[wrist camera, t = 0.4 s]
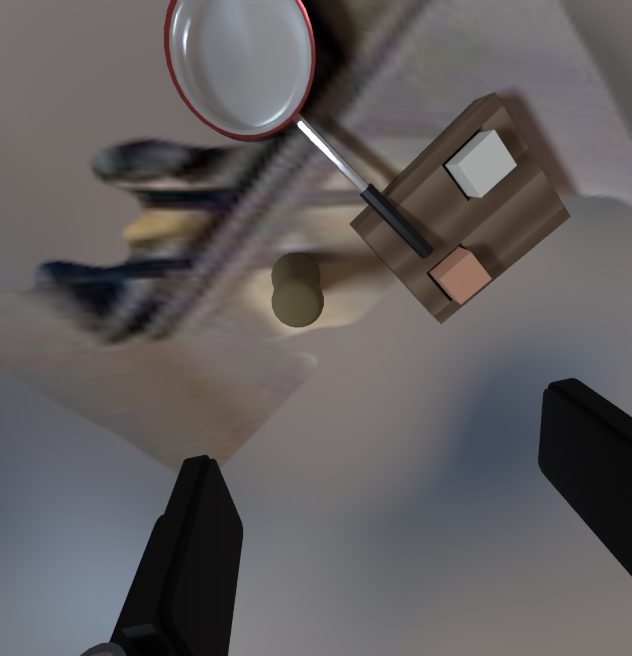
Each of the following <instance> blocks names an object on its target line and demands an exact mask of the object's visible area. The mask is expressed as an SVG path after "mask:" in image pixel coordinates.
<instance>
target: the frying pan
mask: <svg viewBox="0 0 632 656" xmlns="http://www.w3.org/2000/svg"><path fill="white" fill-rule="evenodd" d="M164 48H165V54H166V60H167V66H168V69H169V72H170V75H171V78H172V81H173V83H174V85H175V87H176V89H177V90H178V93H179V94H180V96H181V98H182V99H183V101H184V102H185V103H186V105H187V106H188V107H189V109H190V110H191V111H192V112H193V113H194V114H195V115H196V116H197V117H198V118H199V119H200V120H201V121H202V122H204V123H205V124H206V125H208V126H209V127H211V128H212V129H214V130H215V131H217V132H219V133H220V134H222V135H224V136H227V137H229V138H232V139H234V140H238V141H244V142H260V141H264V140H268V139H271V138H273V137H275V136H277V135H279V134H281V133H282V132H284V131H285V130H286V129H287V128H289V127H290V126H291V125H292V124H294V125H295V126H296V127H297V128H298V129H299V130H300V131H301V132H302V133H303V134H304V135H305V136H306V137H307V138H308V139H309V140H310V141H311V142H312V143H313V144H314V145H315V146H316V147H317V148H318V149H319V150H320V151H321V152H322V153H323V154H324V155H325V156H326V158H327V159H328V160H329V161H330V162H331V163H332V164H333V165H334V166H335V167H336V168H337V169H338V170H339V171H340V172H341V173H342V174H343V175H344V176H345V177H346V178H347V179H348V180H349V181H350V182H351V183H352V184H353V185H354V186H355V187H356V188H357V189H358V190H359V191H360V192H361V193H360V196H361V197H362V198H363V199H364V200H365V201H366V202H367V203H368V204H369V205H370V206H371V207H372V208H373V209H374V210H375V211H376V212H377V213H378V214H379V215H380V216H381V217H382V218H383V219H384V220H385V222H386V223H387V224H388V225H389V226H390V227H391V228H392V229H393V230H394V231H395V232H396V233H397V234H398V235H399V236H400V237H401V238H402V239H403V240H404V241H405V242H406V243H407V244H408V245H409V246H410V247H411V248H412V249H413V250H414V251H415V252H416V253H417V254H418V255H419V256H420V257H421V258H422V259H425V258H427V257H429V256H430V255H431V254H432V252H433V247H432V246H431V245H430V244H429V243H428V242H427V241H426V240H425V239H424V238H423V237H422V236H421V235H420V234H419V232H418V231H417V230H416V229H415V228H414V227H413V226H412V225H411V224H410V223H409V222H408V221H407V220H406V219H405V218H404V217H403V216H402V215H401V214H400V213H399V212H398V211H397V210H396V209H395V208H394V207H393V205H392V204H391V203H390V202H389V201H388V200H387V199H386V198H385V197H384V196H383V195H382V194H381V193H380V192H379V191H378V190H377V189H376V188H375V187H374V186H373V185H372V184H371V183H370V184H368V183H367V182H366V181H365V180H364V179H363V178H362V177H361V176H360V175H359V174H358V173H357V172H356V171H355V170H354V169H353V168H352V166H351V165H350V164H349V163H348V162H347V161H346V160H345V159H344V158H343V157H342V156H341V155H340V154H339V153H338V152H337V151H336V150H335V149H334V148H333V147H332V146H331V145H330V144H329V143H328V142H327V141H326V140H325V138H324V137H323V136H322V135H321V134H320V133H319V132H318V131H317V130H316V129H315V128H314V127H313V126H312V125H311V124H310V123H309V122H308V121H307V120H306V119H305V118H304V117H303V116H302V115H301V114H300V113H301V111H302V110H303V108H304V106H305V104H306V102H307V99H308V95H309V92H310V89H311V85H312V81H313V76H314V69H315V42H314V37H313V31H312V26H311V24H310V21H309V18H308V15H307V12H306V10H305V8H304V6H303V4H302V2H301V0H171V1H170V4H169V7H168V9H167V15H166V20H165V27H164Z"/></svg>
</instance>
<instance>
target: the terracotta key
mask: <svg viewBox="0 0 632 656" xmlns="http://www.w3.org/2000/svg"><path fill="white" fill-rule="evenodd" d="M429 273H430V274H431V275H432V276H433V277H434V279H435V280H436V281H437V282H438V283H439V284H440V286H441V287H442V288H443V289H444V290H445V291H446V293H447V294H448V295H449V296H450V297H451V298H452V299H454V300H455V301H456V302H458V303H459V304H460V305H461V304H462V303H464V302H465V301H466V300H467V299H468V298H470V297H471V296H472V295H473V294H474V293H476V292H477V291H478V290H479V289H480V288H482V287H483V286H484V285H485V284H486V283H488V282H489V281H490V280H491V277H490V276H489V275H488V273H487V272H486V271H485V269H484V268H483V267H482V266H481V264H480V263H479V262H478V260H477V259H476V258H475V256H474V255H473V254H472V253H471V252H470V251H468V250H465V249H463V248H460V247H458V248H457V249H456V250H454V251H453V252H452V253H451V254H450V255H449V256H448V257H446V258H445V259H444V260H443V261H442V262H441V263H440V264H439V265H437V266H436V267H435V268H434V269H433V270H432V271H431V272H429Z"/></svg>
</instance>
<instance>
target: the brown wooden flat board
mask: <svg viewBox="0 0 632 656" xmlns="http://www.w3.org/2000/svg"><path fill="white" fill-rule="evenodd" d="M490 130H495V131H496V133H497V134H498V136H499V138H500V139H501V141H502V142H503V144H504V146H505V147H506V149H507V150H508V152H509V153H510V155H511V157H512V158H513V160H514V161H515V163H516V164H517V166H516V167H515V168H514V169H512V170H511V171H510V172H509V173H508V174H507V175H506V176H505V177H504V178H502V179H501V180H500V181H499V182H498V183H497V184H496V185H495V186H494V187H493V188H491V189H490V190H489V191H488V192H487V193H486V194H485V195H484V196H483V197H482V198H480V197H471V196H467V195H466V193H465V192H464V190H463V189H462V188H461V186H460V185H459V184H458V182H457V181H456V179H455V178H454V177H453V175H452V174H451V172H450V171H449V170H448V168H447V167H446V166H445V165H446V164H447V163H448V162H449V161H450V160H451V159H452V158H453V157H454V156H455V155H456V154H457V153H458V152H459V151H460V150H461V149H462V148H463V147H465V146H466V145H467V144H468V143H469V142H470V141H471V140H472V139H473V138H474V137H475V136H476V135H477V134H478V133H481V132H485V131H490ZM381 194H382V195H383V196H384V197H385V198H386V199H387V200H388V201H389V202H390V203H391V204H392V205H393V207H394V208H395V209H396V210H397V211H398V212H399V213H400V214H401V215H402V216H403V217H404V218H405V219H406V220H407V221H408V222H409V223H410V224H411V225H412V226H413V227H414V228H415V229H416V230H417V231H418V232H419V234H420V235H421V236H422V237H423V238H424V239H425V240H426V241H427V242H428V243H429V244H430V245H431V246H432V247H433V252H432V254H431V255H430V256H429V257H427V258H425V259H422V258H421V257H420V256H419V255H418V254H417V253H416V252H415V251H414V250H413V249H412V248H411V247H410V246H409V245H408V244H407V243H406V242H405V241H404V240H403V239H402V238H401V237H400V236H399V235H398V234H397V233H396V232H395V231H394V230H393V229H392V228H391V227H390V226H389V225H388V224H387V223H386V222H385V220H384V219H383V218H382V217H381V216H380V215H379V214H378V213H377V212H376V211H375V210H374V209H373V208H372V207H371V206H370V205H368V206H367V207H366V208H365V209H364V210H363V211H362V212H361V213H360V214H359V215H358V216H357V217H356V218H355V219H354V220H353V221H352V222H351V223H350V225H351V226H352V228H353V229H354V230H355V231H356V232H357V233H358V234H359V235H360V236H361V237H362V239H363V240H364V241H365V242H366V243H367V244H368V245H369V246H370V247H371V249H372V250H373V251H374V252H375V253H376V254H377V255H378V256H379V257H380V259H381V260H382V261H383V262H384V263H385V264H386V265H387V266H388V267H389V269H390V270H391V271H392V272H393V273H394V274H395V275H396V276H397V277H398V279H399V280H400V281H401V282H402V283H403V284H404V285H405V286H406V287H407V288H408V290H409V291H410V292H411V293H412V294H413V295H414V296H415V297H416V298H417V300H418V301H419V302H420V303H421V304H422V305H423V306H424V307H425V308H426V309H427V311H428V312H429V313H430V314H431V315H432V316H433V317H434V318H435V319H436V320H437V321H439V322H440V323H441V324H442V323H443V322H444V321H445V320H446V319H448V318H449V317H450V316H451V315H452V314H454V313H455V312H456V311H457V310H459V309H460V308H461V307H462V306H463V305H465V304H466V303H467V302H468V301H469V300H471V299H472V298H473V297H474V296H475V295H477V294H478V293H479V292H480V291H481V290H483V289H484V288H485V287H486V286H488V285H489V284H490V283H491V282H492V281H494V280H495V279H496V278H497V277H498V276H499V275H501V274H502V273H503V272H504V271H506V270H507V269H508V268H509V267H510V266H512V265H513V264H514V263H515V262H516V261H518V260H519V259H520V258H521V257H522V256H524V255H525V254H526V253H527V252H528V251H530V250H531V249H532V248H533V247H534V246H536V245H537V244H538V243H539V242H540V241H541V240H543V239H544V238H545V237H546V236H548V235H549V234H550V233H551V232H553V231H554V230H555V229H556V228H557V227H559V226H560V225H561V224H562V223H563V222H565V221H566V220H567V219H568V218H569V217H570V215H569V213H568V211H567V210H566V208H565V207H564V205H563V203H562V202H561V200H560V198H559V197H558V195H557V193H556V192H555V190H554V188H553V187H552V185H551V183H550V182H549V180H548V179H547V177H546V175H545V174H544V172H543V170H542V169H541V167H540V165H539V164H538V162H537V160H536V159H535V157H534V156H533V154H532V152H531V151H530V149H529V147H528V146H527V144H526V142H525V141H524V139H523V137H522V136H521V134H520V132H519V131H518V129H517V128H516V126H515V124H514V123H513V121H512V119H511V118H510V116H509V114H508V113H507V111H506V109H505V108H504V106H503V104H502V103H501V101H500V100H499V98H498V96H497V95H496V93H495V92H494V93H492V94H489V95H487V96H484V97H482V98H479V99H477V100H474V101H473V102H472V103H471V104H470V105H469V106H468V107H467V108H466V109H465V110H464V111H463V112H462V113H461V114H460V115H459V116H458V117H457V118H456V119H455V120H454V121H453V122H452V123H451V124H450V125H449V126H448V127H447V128H446V129H445V130H444V131H443V132H442V133H441V134H440V135H439V136H438V137H437V138H436V139H435V140H434V141H433V142H432V143H431V144H430V145H429V146H428V147H427V148H426V149H425V150H424V151H423V152H422V153H421V154H420V155H419V156H418V157H417V158H416V159H415V160H414V161H413V162H412V163H411V164H410V165H409V166H408V167H407V168H406V169H405V170H404V171H403V172H402V173H401V174H400V175H399V176H398V177H397V178H396V179H394V180H393V181H392V182H391V183H390V184H389V185H388V186H387V187H386V188H385V189H384V190H383V191H382V192H381ZM458 247H460V248H463V249H465V250H468V251H470V252H471V253H472V254H473V255H474V256H475V258H476V259H477V260H478V262H479V263H480V264H481V266H482V267H483V268H484V269H485V271H486V272H487V273H488V275H489V276H490V277H491V280H490V281H489V282H488V283H486V284H485V285H484V286H483V287H482V288H480V289H479V290H478V291H477V292H476V293H474V294H473V295H472V296H471V297H470V298H468V299H467V300H466V301H465V302H464V303H462V304H461V305H460V304H459V303H458V302H456V301H455V300H454V299H452V298H451V297H450V296H449V295H448V294H447V293H446V291H445V290H444V289H443V288H442V287H441V286H440V284H439V283H438V282H437V281H436V280H435V279H434V277H433V276H432V275H431V274H430V273H429V272H431V271H432V270H433V269H434V268H435V267H436V266H437V265H439V264H440V263H441V262H442V261H443V260H444V259H445V258H446V257H448V256H449V255H450V254H451V253H452V252H453V251H454V250H456V249H457V248H458Z"/></svg>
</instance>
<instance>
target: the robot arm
mask: <svg viewBox="0 0 632 656" xmlns="http://www.w3.org/2000/svg"><path fill="white" fill-rule="evenodd" d="M538 463H539V467H540V469H541V471H542V473H543V474H544V475H545V476H546V478H547V479H548V480H549V481H550V482H551V483H552V484H553V486H554V487H555V488H556V489H557V490H558V492H560V494H561V495H562V496H563V497H564V499H565V500H566V501H567V502H568V503H569V504H570V505H571V507H572V508H573V509H574V510H575V511H576V512H577V513H578V514H579V516H580V517H581V518H582V519H583V521H584V522H585V523H586V524H587V525H588V526H589V528H590V529H591V530H592V531H593V532H594V533H595V534H596V536H597V537H598V538H599V539H600V540H601V541H602V542H603V544H604V545H605V546H606V547H607V548H608V550H609V551H610V552H611V553H612V554H613V555H614V557H615V558H616V559H617V560H618V561H619V562H620V563H621V564H622V566H623V567H624V568H625V569H626V570H627V571H628V573H629V574H630V575H631V576H632V417H630V416H629V415H628V414H627V413H625V412H624V411H622V410H621V409H619V408H618V407H617V406H615V405H614V404H612V403H611V402H609V401H608V400H606V399H605V398H603V397H602V396H601V395H599V394H597V393H596V392H595V391H593V390H592V389H591V388H589V387H588V386H586V385H585V384H583V383H582V382H581V381H579V380H577V379H575V378H569V379H565V380H560V381H555V382H552V383H550V384H549V385H548V389H545V390H544V393H543V404H542V417H541V429H540V444H539V456H538ZM242 540H243V526H242V522H241V519H240V517H239V515H238V512H237V510H236V507H235V505H234V503H233V500H232V498H231V496H230V493H229V490H228V488H227V486H226V483H225V481H224V479H223V476H222V474H221V471H220V469H219V466H218V464H217V462H216V460H215V459H210V458H209V457H208V456H207V455H202V456H197V457H192V458H187V459H185V460H184V462H183V464H182V467H181V470H180V472H179V475H178V478H177V481H176V483H175V486H174V489H173V491H172V494H171V497H170V500H169V502H168V505H167V507H166V510H165V513H164V515H161V516H160V517H159V518H158V520H157V521H156V523H155V526H154V528H153V530H152V533H151V536H150V538H149V541H148V543H147V546H146V549H145V551H144V554H143V557H142V559H141V561H140V564H139V567H138V569H137V572H136V575H135V577H134V580H133V582H132V585H131V588H130V590H129V593H128V595H127V598H126V600H125V603H124V605H123V608H122V611H121V613H120V616H119V618H118V621H117V624H116V626H115V629H114V632H113V634H112V637H111V639H110V642H109V643H101V644H98V645H96V646H94V647H92V648H89V649H88V650H87V651H85V652H84V653H83V654H81V655H80V656H228V650H229V643H230V635H231V627H232V619H233V611H234V602H235V596H236V588H237V579H238V572H239V564H240V556H241V549H242Z"/></svg>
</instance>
